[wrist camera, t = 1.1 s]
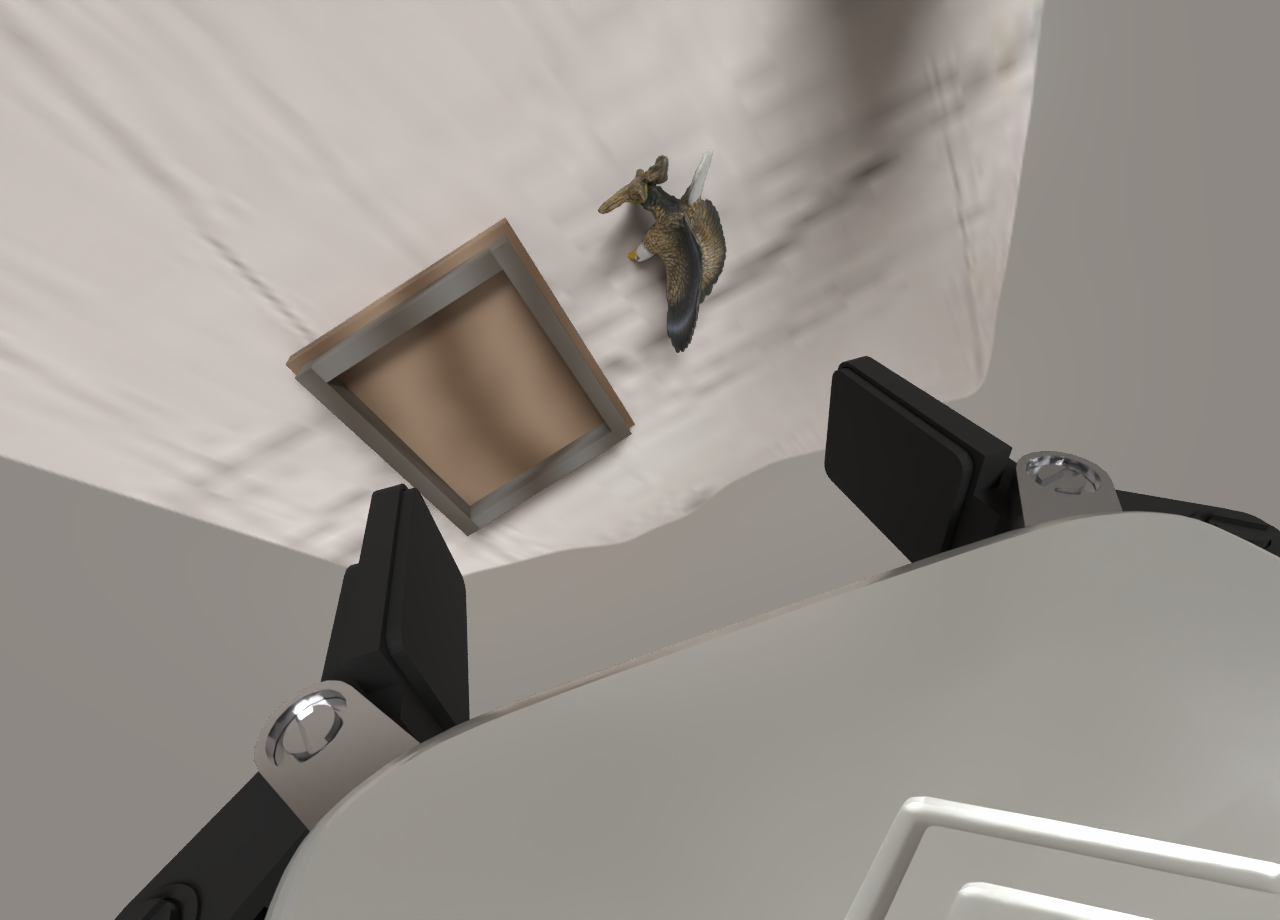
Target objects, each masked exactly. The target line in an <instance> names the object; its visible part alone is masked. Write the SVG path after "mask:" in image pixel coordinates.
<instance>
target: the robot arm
mask: <svg viewBox="0 0 1280 920" xmlns="http://www.w3.org/2000/svg"><path fill="white" fill-rule="evenodd" d="M1011 450H1012V447H1011V446H1009V445H1008V444H1006V443H1004V442H1003V441H1001V440H999V439H998V438H996V437H995V436H993V435H992V434H990V433H989V432H987V431H985V430H984V429H982V428H981V427H979V426H977V425H976V424H974V423H973V422H971V421H970V420H968V419H967V418H965V417H963V416H962V415H960V414H959V413H957V412H956V411H954V410H952V409H951V408H949V407H948V406H946V405H945V404H943V403H941V402H940V401H938V400H937V399H935V398H934V397H932V396H930V395H929V394H927V393H926V392H924V391H923V390H921V389H919V388H918V387H916V386H915V385H913V384H912V383H910V382H908V381H907V380H905V379H904V378H902V377H901V376H899V375H897V374H896V373H894V372H893V371H891V370H890V369H888V368H886V367H885V366H883V365H882V364H880V363H879V362H877V361H875V360H874V359H872V358H871V357H868V356H864V357H860V358H856V359H853V360H849V361H846V362H843V363H841V364H840V365H839V367H838V370H837V371H835V372H834V374H833V377H832V386H831V397H830V408H829V419H828V430H827V441H826V452H825V470H826V473H827V475H828V477H829V478H830V479H831V481H832V482H834V483H835V485H836V486H837V487H838V488H839V489H840V490H841V491H842V492H843V493H844V494H845V495H846V496H847V497H848V498H849V499H850V500H851V501H852V502H853V503H854V504H855V505H856V506H857V507H858V508H859V509H860V510H861V511H862V512H863V513H864V514H865V515H866V516H867V517H868V518H869V519H870V520H871V522H872V523H874V524H875V526H876V527H877V528H878V529H879V530H880V531H881V532H882V533H883V534H884V535H885V536H886V537H887V538H888V539H889V540H890V541H891V542H892V543H893V544H894V545H895V546H896V547H897V548H898V549H899V550H900V551H901V552H902V553H903V554H904V555H905V556H906V557H907V558H908V559H909V560H910V561H911V562H912V563H911V564H908V565H905V566H902V567H899V568H896V569H893V570H890V571H887V572H884V573H881V574H879V575H875V576H872V577H869V578H866V579H863V580H861V581H858V582H855V583H852V584H849V585H846V586H843V587H840V588H837V589H834V590H831V591H828V592H826V593H822V594H820V595H817V596H814V597H811V598H808V599H805V600H802V601H799V602H796V603H793V604H790V605H788V606H785V607H782V608H779V609H776V610H773V611H770V612H767V613H765V614H761V615H759V616H756V617H753V618H750V619H747V620H745V621H741V622H738V623H736V624H733V625H730V626H727V627H724V628H721V629H718V630H715V631H712V632H709V633H706V634H704V635H701V636H698V637H695V638H692V639H690V640H687V641H684V642H681V643H678V644H675V645H672V646H670V647H667V648H664V649H661V650H658V651H655V652H652V653H650V654H647V655H644V656H641V657H638V658H635V659H632V660H629V661H627V662H624V663H621V664H618V665H615V666H612V667H610V668H607V669H604V670H601V671H598V672H596V673H592V674H590V675H587V676H584V677H581V678H579V679H576V680H573V681H570V682H567V683H565V684H562V685H559V686H557V687H554V688H551V689H548V690H546V691H543V692H540V693H538V694H535V695H533V696H530V697H527V698H524V699H521V700H519V701H516V702H513V703H511V704H508V705H505V706H502V707H500V708H498V709H495V710H492V711H490V712H488V713H485V714H483V715H480V716H478V717H476V718H473V719H471V720H470V719H469V687H468V686H469V684H468V653H467V652H468V650H467V615H466V589H465V584H464V580H463V577H462V575H461V573H460V571H459V569H458V567H457V565H456V563H455V561H454V559H453V557H452V555H451V553H450V551H449V549H448V547H447V545H446V543H445V541H444V539H443V537H442V535H441V533H440V531H439V529H438V527H437V525H436V523H435V521H434V519H433V517H432V515H431V513H430V511H429V509H428V507H427V505H426V504H425V502H424V500H423V498H422V496H421V494H420V492H419V490H418V489H417V488H412V489H408V488H407V486H406V485H405V484H399V485H396V486H392V487H388V488H385V489H381V490H378V491H375V492H373V495H372V499H371V504H370V509H369V514H368V519H367V524H366V529H365V534H364V539H363V545H362V550H361V555H360V560H359V563H358V564H354V565H351V566H349V567H348V568H347V570H346V573H345V575H344V579H343V584H342V589H341V593H340V597H339V602H338V607H337V611H336V616H335V620H334V625H333V629H332V633H331V638H330V643H329V647H328V652H327V656H326V661H325V665H324V670H323V675H322V679H321V682H320V683H316V684H313V685H311V686H309V687H307V688H305V689H303V690H301V691H299V692H297V693H296V694H294V695H293V696H292V697H290V698H289V699H288V700H286V701H285V702H284V703H283V704H282V705H281V706H280V707H279V708H278V709H277V710H276V711H275V712H274V713H273V714H272V715H271V716H270V717H269V719H268V720H267V722H266V723H265V725H264V726H263V728H262V729H261V731H260V733H259V736H258V739H257V741H256V744H255V747H254V762H255V764H256V767H257V769H258V773H256V774H255V776H254V777H253V778H252V779H251V780H250V781H249V782H248V783H247V784H246V785H245V786H244V787H243V788H242V789H241V790H240V791H239V792H238V793H237V794H236V795H235V796H234V797H233V798H232V799H231V800H230V801H229V802H228V803H227V804H226V805H225V806H224V807H223V808H222V809H221V810H220V811H219V812H218V813H217V814H216V815H215V816H214V817H213V818H212V819H211V820H210V822H208V823H207V825H205V827H204V828H202V830H201V831H200V832H199V833H198V834H197V835H196V836H195V837H194V838H193V839H192V840H191V841H190V842H189V843H188V844H187V845H186V846H185V847H184V848H183V849H182V850H181V851H180V852H179V853H178V854H177V855H176V856H175V857H174V858H173V859H172V860H171V861H170V862H169V863H168V864H167V865H166V866H165V867H164V868H163V869H162V870H161V871H160V872H159V873H158V874H157V875H156V876H155V877H154V878H153V880H152V881H150V883H149V884H148V885H147V886H146V887H145V888H144V889H143V890H142V891H141V892H140V893H139V894H138V895H137V896H136V897H135V898H134V899H133V900H132V901H131V902H130V903H129V904H128V905H127V906H126V907H125V908H124V909H123V911H122V912H121V913H120V914H119V915H118V916H117V917H116V919H115V920H1280V531H1279V530H1278V529H1276V528H1275V527H1273V526H1271V525H1269V524H1267V523H1265V522H1264V521H1263V520H1261V519H1259V518H1257V517H1255V516H1252V515H1250V514H1247V513H1244V512H1239V511H1234V510H1229V509H1225V508H1219V507H1213V506H1208V505H1202V504H1196V503H1190V502H1184V501H1178V500H1172V499H1167V498H1160V497H1155V496H1149V495H1143V494H1137V493H1132V492H1125V491H1120V490H1115V488H1114V485H1113V483H1112V480H1111V478H1110V477H1109V475H1108V474H1107V472H1105V471H1104V470H1103V469H1102V468H1100V467H1099V466H1098V465H1096V464H1094V463H1092V462H1090V461H1088V460H1086V459H1084V458H1081V457H1078V456H1075V455H1072V454H1067V453H1062V452H1055V451H1040V452H1033V453H1030V454H1027V455H1024V456H1023V457H1021V458H1020V459H1019V460H1018V462H1017V463H1015V462H1014V461H1013V460H1011V459H1010V458H1009V456H1010V453H1011Z"/></svg>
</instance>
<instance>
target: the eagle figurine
mask: <svg viewBox="0 0 1280 920" xmlns="http://www.w3.org/2000/svg"><path fill="white" fill-rule="evenodd" d="M712 154H713V151H712V149H711V150H709V151H708V152H706V153H705V154H704V155H703V157H702V160H701V162H700V164H699V167H698V168H697V170H696V172H695V175H694V178H693V180H692V183H691V185H690V186H689V187H688V188H687V190H686V192H685V194H684V195H683V196H682V198H681V199H677V198H675V196H670V195H669V194H668V193H666V192H664V191H663V190H662V188H661V187H660V186H656V184H661V183H664V182H665V181H667V179H668V176H667V171H668V159H667V157H666V156H663V155H662V156H659V157H658V158H657V159H656V163H655V165H653V166H651V167H650V168H649V169H648V171H646V172H645V173H644V171H643V170H642V169H639V170H637V172H636V173H637V177H636V178H635V179H634V180H633V181H632V182H631V183H630V184H628V185H626V186H625V187H623V188H622V189H620V190H619V191H618V192H617V193H616V194H614V195H613V196H612V197H611V198H609V199H608V200H607V201H606V202H604V203H603V204H602V206H601V207H600V208H599V209H598V212H599V213H601V214H604V213H608V212H611V211H612V210H614V209H615V208H617V207H619V206H621V204H622V203H624V202H630V203H640V204H641V205H642V206H643V207H644V209H646V210H649V211H651V212H652V214H653V216H654V218H655V220H656V223H655V224H654V225H653V226H652V227H651V228H650V229H649V230H648V232H647V233H646V235H645V237H644V239H643V241H642V243H641V244H640V246H639V247H638V248H637V249H636V250H635V251H634V252H632V253H629V254H628V257H629V258H630V259H633V260H637V261H639V262H641V261H644V260H646V259H648V258H650V257H652V256H653V255H654V254H659V255H660V257H661V258H662V260H663V263H664V265H665V268H666V273H667V288H666V296H667V301H668V312H667V333H668V336H669V338H671V342H672V345H673V347H674V348H675V350H676V352H677V353H679V352H680V350H681V351H682V352H684V350H685V348H688V343H689V344H690V343H691V340H692V336H693V334H694V329H695V327H696V321H697V319H698V312H699V304H700V303H702V302H703V301H704V298H705V296H706V295H709V294H710V293H711V291H712V287H713V283H716V282H717V280H718V275H719V274H720V273H721V272H722V268H723V266H724V260H725V259H726V255H725V253H726V247H725V238H724V236H723V230H722V225H721V224H720V218H719V215H718V212H717V211H716V208H715V206H713V205H712V202H711V201H710V200H709V201H708V200H707V199H706V200H705V201H704V200H701V193H702V189H703V186H704V182H705V178H706V175H707V171H708V168H709V166H710V163H711V158H712ZM659 169H660V170H659Z"/></svg>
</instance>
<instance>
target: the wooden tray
mask: <svg viewBox="0 0 1280 920" xmlns="http://www.w3.org/2000/svg"><path fill="white" fill-rule="evenodd" d="M286 366H287V367H288V368H290V369H291V370H292V371H293V372H294V373H295V374H296V375H297V376H296V377H295V379H296V380H297V381H298V382H299V383H300V384H302V385H303V386H304V387H305V388H306V389H307V390H308V391H309V392H310V393H311V394H313V395H314V396H315V397H316V398H317V399H318V400H319V401H320V402H321V403H322V404H323V405H325V406H326V407H327V408H328V409H329V410H330V411H331V412H332V413H333V414H334V415H336V416H337V417H338V418H339V419H340V420H341V421H342V422H343V423H344V424H345V425H346V426H348V427H349V428H350V429H351V430H352V431H353V432H354V433H355V434H356V435H357V436H359V437H360V438H361V439H362V440H363V441H364V442H365V443H366V444H367V445H368V446H369V447H371V448H372V449H373V450H374V451H375V452H376V453H377V454H378V455H379V456H380V457H382V458H383V459H384V460H385V461H386V462H387V463H388V464H389V465H390V466H391V467H393V468H394V469H395V470H396V471H397V472H398V473H399V474H400V475H401V476H402V477H403V478H405V479H406V480H407V481H408V482H409V483H410V484H411V485H412V486H413V487H414V488H417V489H418V490H419V492H420V493H421V494H422V495H423V496H424V497H425V498H426V499H428V500H429V501H430V502H431V503H432V504H433V505H434V506H435V507H436V508H437V509H439V510H440V511H441V512H442V513H443V514H444V515H445V516H446V517H447V518H448V519H449V520H451V521H452V522H453V523H454V524H455V525H456V526H457V527H458V528H459V529H460V530H462V531H463V532H464V533H465V534H466V535H467V536H469V535H471V534H472V533H474V532H475V531H477V530H479V529H480V528H482V527H483V526H485V525H487V524H488V523H490V522H491V521H493V520H495V519H496V518H498V517H499V516H501V515H503V514H504V513H506V512H507V511H509V510H511V509H512V508H514V507H515V506H517V505H519V504H520V503H522V502H523V501H525V500H527V499H528V498H530V497H531V496H533V495H535V494H536V493H538V492H539V491H541V490H543V489H544V488H546V487H547V486H549V485H551V484H552V483H554V482H555V481H557V480H559V479H560V478H562V477H564V476H565V475H567V474H568V473H570V472H572V471H573V470H575V469H576V468H578V467H580V466H581V465H583V464H584V463H586V462H588V461H589V460H591V459H592V458H594V457H596V456H597V455H599V454H600V453H602V452H604V451H605V450H607V449H608V448H610V447H612V446H613V445H615V444H616V443H618V442H620V441H621V440H623V439H624V438H626V437H628V436H629V435H631V434H632V433H631V432H630V430H629V428H630V427H632V426H633V425H635V424H634V422H633V420H632V419H631V417H630V415H629V414H628V412H627V411H626V409H625V407H624V406H623V404H622V403H621V401H620V400H619V398H618V396H617V395H616V393H615V392H614V390H613V388H612V387H611V385H610V384H609V382H608V380H607V379H606V377H605V376H604V374H603V372H602V371H601V369H600V368H599V366H598V364H597V363H596V361H595V360H594V358H593V357H592V355H591V353H590V352H589V350H588V349H587V347H586V345H585V344H584V342H583V341H582V339H581V337H580V336H579V334H578V333H577V331H576V329H575V328H574V326H573V325H572V323H571V321H570V320H569V318H568V317H567V315H566V314H565V312H564V310H563V309H562V307H561V306H560V304H559V302H558V301H557V299H556V298H555V296H554V294H553V293H552V291H551V290H550V288H549V286H548V285H547V283H546V282H545V280H544V278H543V277H542V275H541V274H540V272H539V271H538V269H537V267H536V266H535V264H534V263H533V261H532V259H531V258H530V256H529V255H528V253H527V251H526V250H525V248H524V247H523V245H522V243H521V242H520V240H519V239H518V237H517V235H516V234H515V232H514V231H513V229H512V228H511V226H510V224H509V223H508V221H507V220H506V218H504V219H502V220H501V221H499V222H498V223H496V224H495V225H493V226H492V227H490V228H488V229H487V230H485V231H484V232H482V233H481V234H479V235H478V236H476V237H475V238H473V239H471V240H470V241H468V242H467V243H465V244H464V245H462V246H461V247H459V248H458V249H456V250H454V251H453V252H451V253H450V254H448V255H447V256H445V257H444V258H442V259H440V260H439V261H437V262H436V263H434V264H433V265H431V266H430V267H428V268H427V269H425V270H423V271H422V272H420V273H419V274H417V275H416V276H414V277H413V278H411V279H410V280H408V281H406V282H405V283H403V284H402V285H400V286H399V287H397V288H396V289H394V290H393V291H391V292H389V293H388V294H386V295H385V296H383V297H382V298H380V299H379V300H377V301H375V302H374V303H372V304H371V305H369V306H368V307H366V308H365V309H363V310H362V311H360V312H358V313H357V314H355V315H354V316H352V317H351V318H349V319H348V320H346V321H345V322H343V323H341V324H340V325H338V326H337V327H335V328H334V329H332V330H331V331H329V332H328V333H326V334H324V335H323V336H321V337H320V338H318V339H317V340H315V341H314V342H312V343H310V344H309V345H307V346H306V347H304V348H303V349H301V350H300V351H298V352H297V353H295V354H293V355H292V356H291V357H290V358H289V360H288V362H287V363H286Z"/></svg>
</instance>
